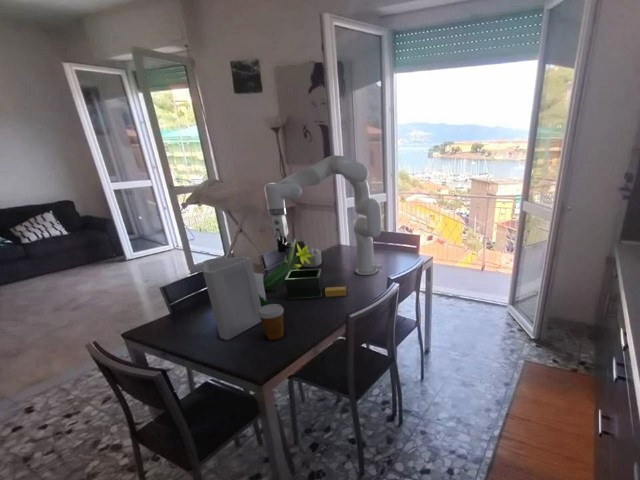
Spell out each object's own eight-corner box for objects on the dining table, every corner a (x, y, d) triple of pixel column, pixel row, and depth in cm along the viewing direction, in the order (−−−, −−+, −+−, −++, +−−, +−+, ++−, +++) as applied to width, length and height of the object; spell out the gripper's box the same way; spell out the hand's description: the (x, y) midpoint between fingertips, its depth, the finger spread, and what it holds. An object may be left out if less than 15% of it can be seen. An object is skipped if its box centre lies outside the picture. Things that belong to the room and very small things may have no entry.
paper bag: (240, 313, 160) (226, 253, 149) (264, 319, 154) (252, 257, 143) (202, 332, 145) (184, 267, 133) (227, 340, 139) (210, 272, 127)
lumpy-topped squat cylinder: (300, 265, 219) (298, 252, 215) (311, 259, 230) (309, 246, 227) (315, 267, 216) (313, 253, 212) (325, 260, 227) (324, 247, 224)
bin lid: (296, 239, 173) (286, 236, 172) (292, 246, 162) (281, 243, 161) (290, 269, 179) (280, 267, 178) (285, 278, 168) (275, 276, 167)
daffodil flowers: (252, 288, 189) (294, 254, 212) (274, 304, 188) (314, 268, 211) (253, 269, 176) (298, 235, 199) (277, 285, 175) (319, 249, 198)
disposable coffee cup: (266, 330, 145) (261, 304, 140) (289, 329, 146) (285, 302, 141) (260, 342, 137) (254, 314, 132) (285, 341, 137) (280, 313, 132)
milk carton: (243, 316, 158) (233, 274, 149) (257, 307, 165) (248, 267, 157) (259, 318, 155) (250, 276, 147) (272, 310, 163) (265, 268, 154)
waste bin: (323, 288, 185) (320, 268, 181) (320, 298, 174) (318, 277, 170) (292, 290, 184) (289, 270, 180) (288, 300, 173) (285, 279, 168)
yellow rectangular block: (346, 292, 180) (345, 286, 179) (346, 295, 176) (345, 289, 175) (326, 293, 179) (325, 287, 178) (325, 296, 175) (325, 290, 174)
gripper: (282, 215, 154) (288, 255, 161) (288, 208, 169) (294, 245, 177) (264, 215, 153) (271, 256, 161) (272, 208, 168) (278, 245, 176)
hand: (283, 250), depth 169 cm, fingers closed on bin lid, 5 cm apart
